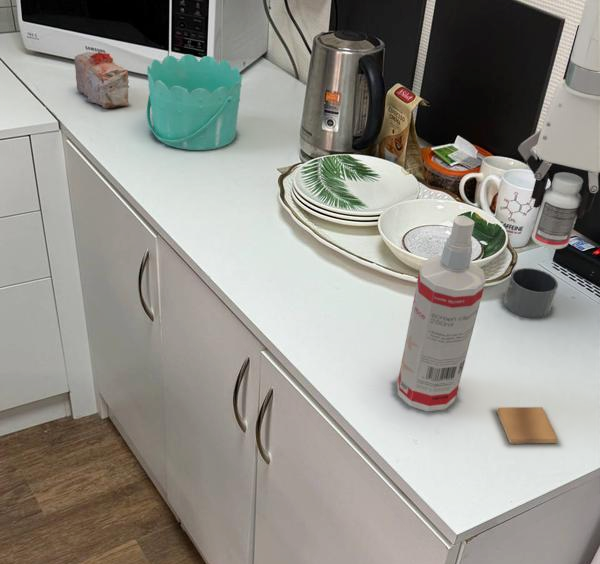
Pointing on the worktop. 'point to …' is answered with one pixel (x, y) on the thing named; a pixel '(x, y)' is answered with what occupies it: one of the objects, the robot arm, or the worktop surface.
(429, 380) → the spray bottle
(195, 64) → the basket
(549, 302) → the tin
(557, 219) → the pill bottle
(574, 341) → the worktop surface
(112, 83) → the food item
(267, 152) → the worktop surface
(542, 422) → the brown wooden square tile
